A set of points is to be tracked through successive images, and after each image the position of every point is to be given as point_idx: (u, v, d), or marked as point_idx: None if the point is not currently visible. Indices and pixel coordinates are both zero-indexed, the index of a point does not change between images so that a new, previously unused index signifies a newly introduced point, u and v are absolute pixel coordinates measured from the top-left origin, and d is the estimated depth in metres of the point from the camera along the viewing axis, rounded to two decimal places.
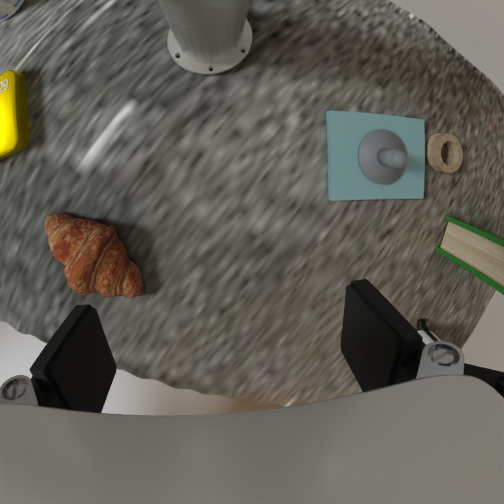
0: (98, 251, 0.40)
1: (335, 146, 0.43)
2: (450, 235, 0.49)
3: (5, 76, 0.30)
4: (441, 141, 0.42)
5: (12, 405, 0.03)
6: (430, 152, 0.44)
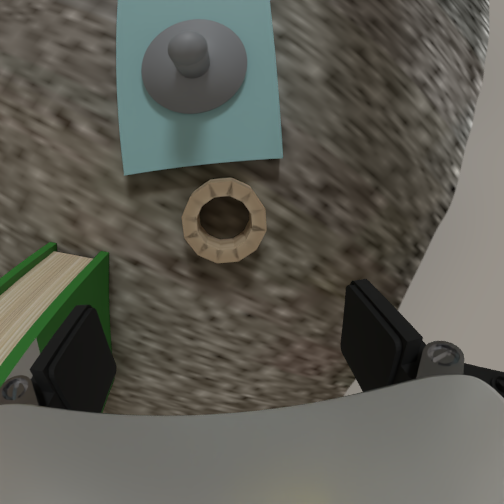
0: None
1: None
2: (71, 262, 0.26)
3: None
4: (246, 196, 0.25)
5: (12, 405, 0.03)
6: (218, 180, 0.26)
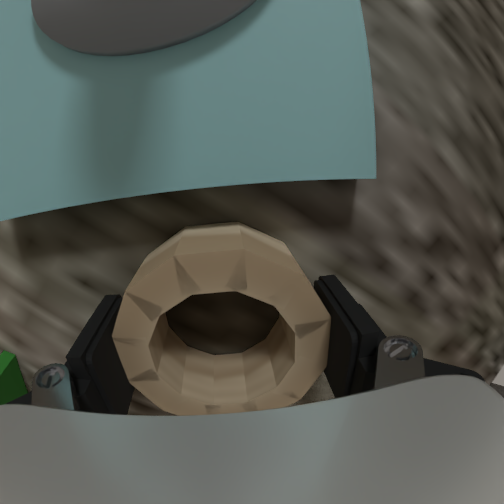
0: None
1: None
2: None
3: None
4: (285, 292, 0.09)
5: (12, 405, 0.03)
6: (204, 235, 0.10)
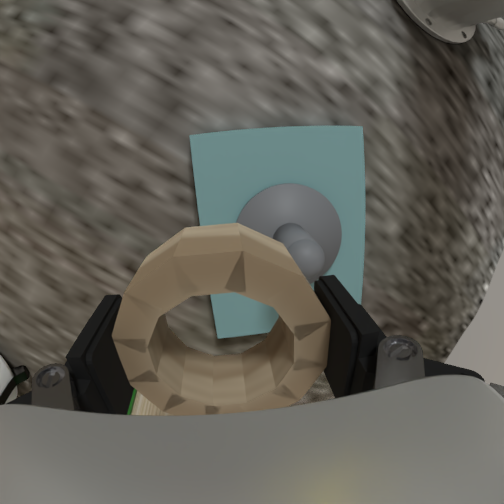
0: None
1: (299, 135, 0.22)
2: None
3: None
4: (284, 293, 0.09)
5: (12, 405, 0.03)
6: (203, 236, 0.10)
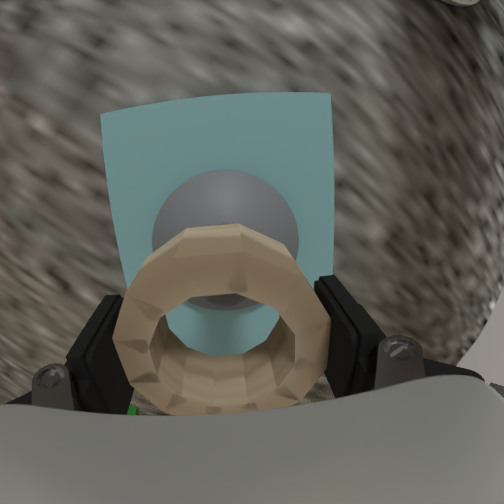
0: None
1: (238, 106, 0.16)
2: None
3: None
4: (285, 294, 0.09)
5: (12, 405, 0.03)
6: (204, 237, 0.10)
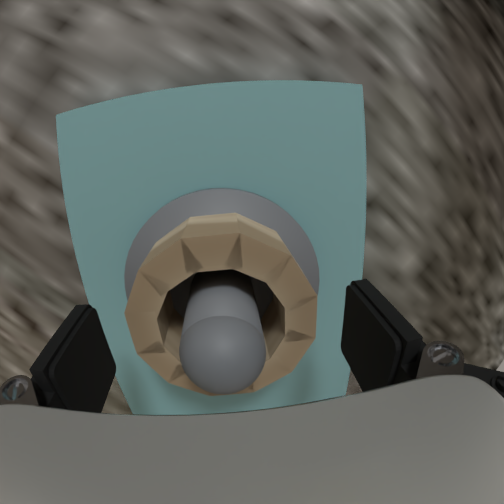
0: None
1: (239, 98, 0.11)
2: None
3: None
4: (275, 270, 0.10)
5: (12, 405, 0.03)
6: (206, 223, 0.11)
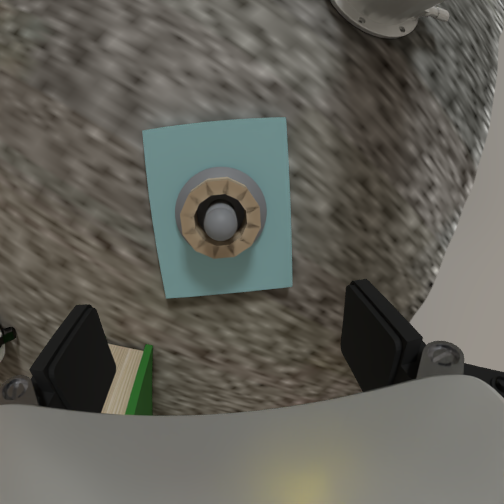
0: None
1: (228, 127, 0.27)
2: (123, 356, 0.34)
3: None
4: (241, 194, 0.26)
5: (12, 405, 0.03)
6: (215, 179, 0.27)
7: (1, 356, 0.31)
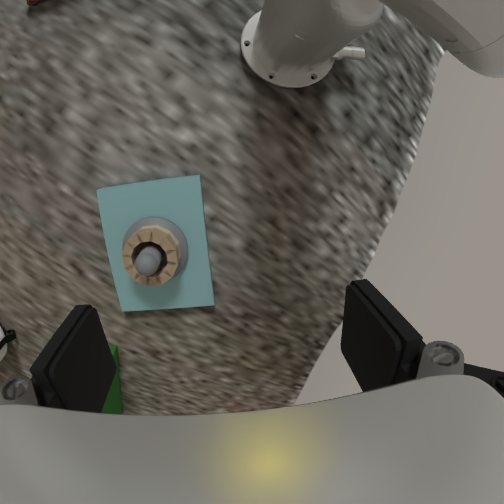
0: None
1: (156, 186, 0.36)
2: None
3: None
4: (162, 241, 0.35)
5: (12, 405, 0.03)
6: (145, 228, 0.36)
7: (4, 353, 0.40)
